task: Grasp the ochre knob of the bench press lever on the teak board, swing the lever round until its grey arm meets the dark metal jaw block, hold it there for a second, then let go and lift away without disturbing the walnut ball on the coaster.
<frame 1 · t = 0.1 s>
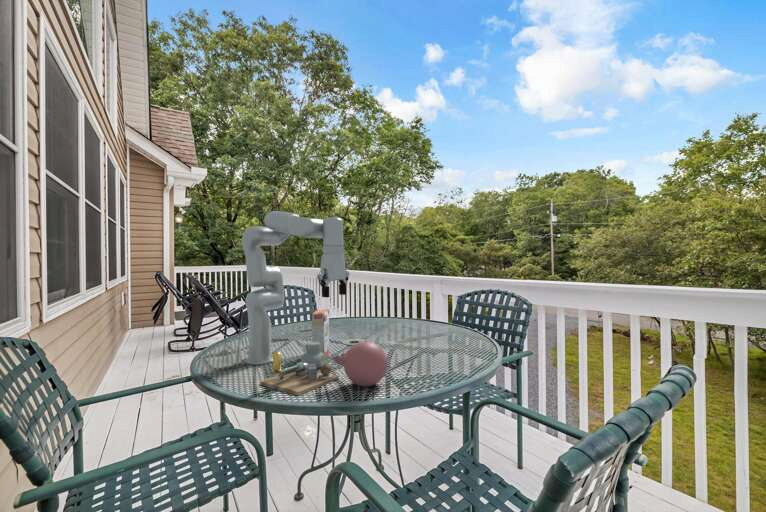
hand: (334, 295, 141), 31 cm above the table, tool pointing down, fingers open, 9 cm apart
balloon: (359, 385, 133), on the table
air freshener: (313, 367, 156), on the table
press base: (299, 381, 137), on the table
lever: (290, 360, 138), point 8 cm above the table, hinge at 0.0°
walnut ball: (326, 375, 139), point 2 cm above the table, touching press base
cracker box: (321, 356, 172), on the table
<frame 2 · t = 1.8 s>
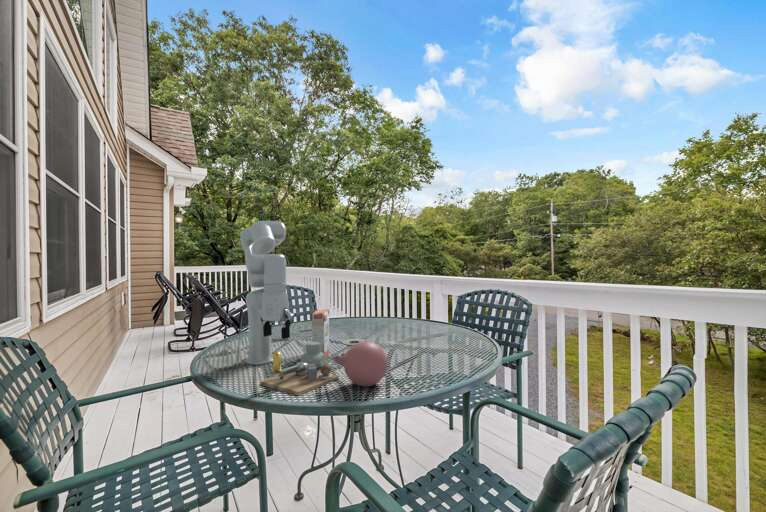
hand: (276, 337, 132), 18 cm above the table, tool pointing down, fingers open, 9 cm apart
nothing on the table moved.
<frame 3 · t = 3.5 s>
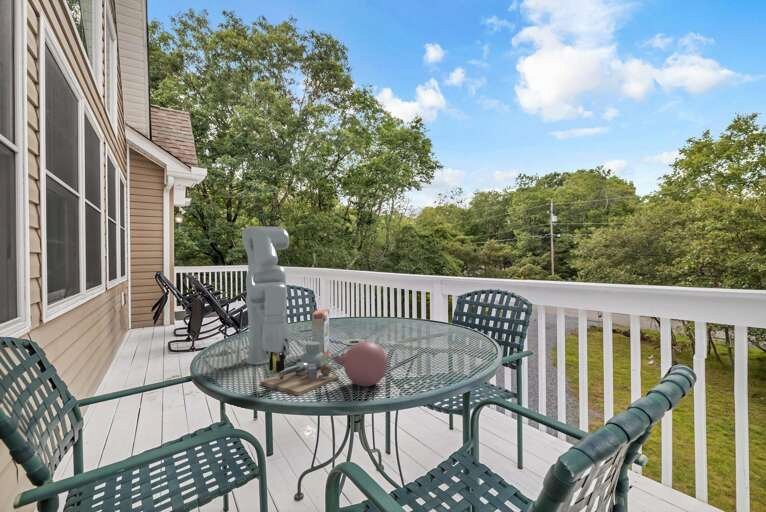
hand: (276, 369, 133), 6 cm above the table, tool pointing down, fingers closed on lever, 2 cm apart
lever: (290, 360, 138), point 8 cm above the table, hinge at 0.0°, touching gripper
everything else where it was.
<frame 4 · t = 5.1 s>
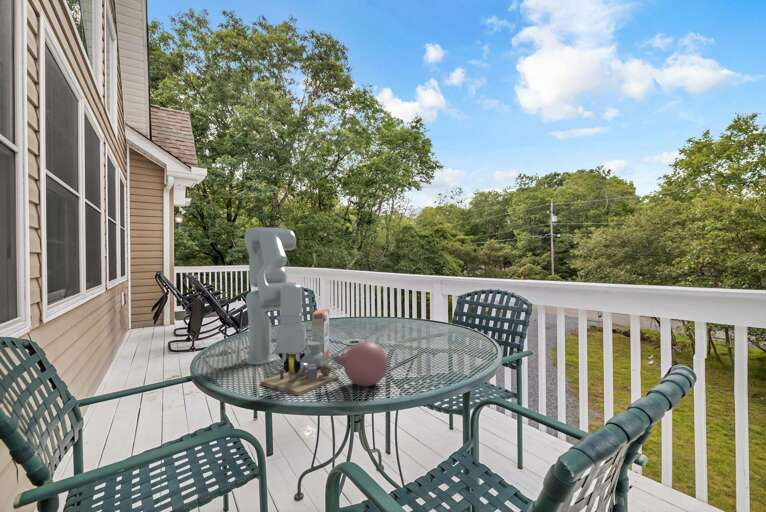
hand: (292, 371, 131), 6 cm above the table, tool pointing down, fingers closed on lever, 2 cm apart
lever: (297, 361, 137), point 8 cm above the table, hinge at 30.6°, touching gripper
everything else where it was.
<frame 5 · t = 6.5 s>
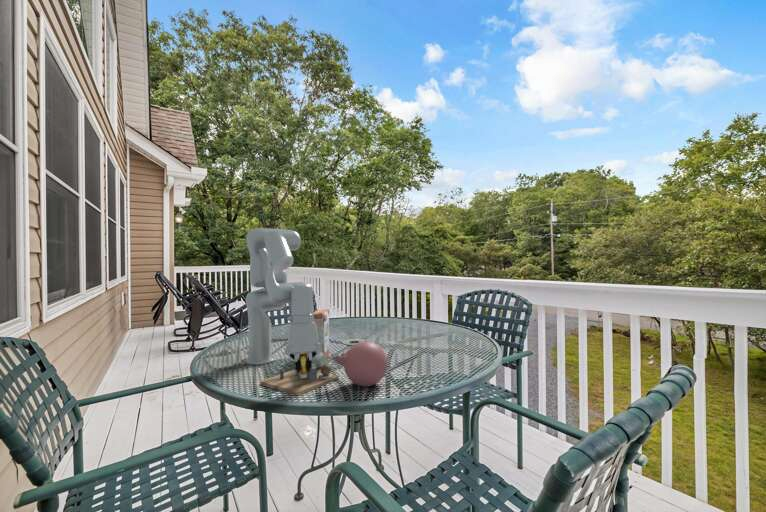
hand: (303, 370, 131), 6 cm above the table, tool pointing down, fingers closed on lever, 2 cm apart
lever: (302, 361, 137), point 8 cm above the table, hinge at 49.1°, touching gripper
everything else where it was.
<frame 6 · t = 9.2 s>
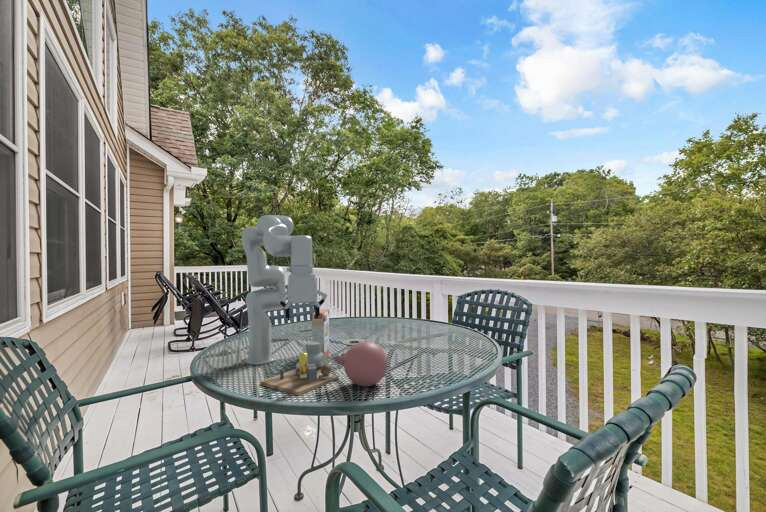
hand: (302, 319, 131), 24 cm above the table, tool pointing down, fingers open, 9 cm apart
lever: (302, 361, 137), point 8 cm above the table, hinge at 49.3°
everything else where it was.
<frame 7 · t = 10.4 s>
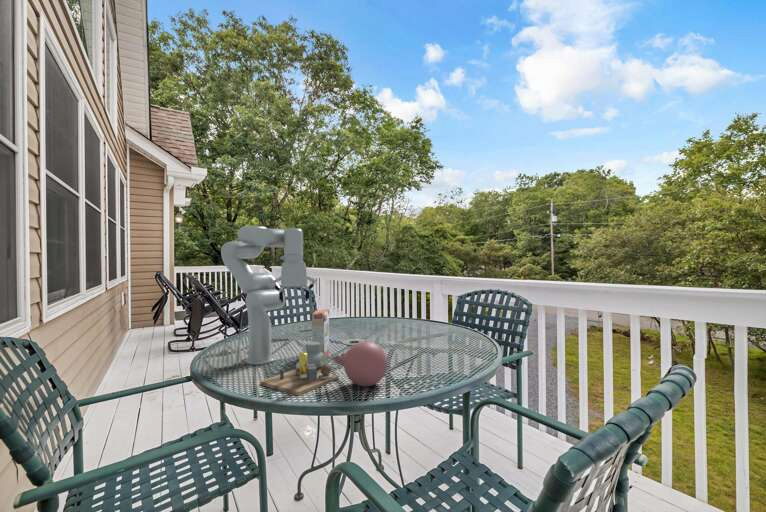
hand: (294, 301, 150), 28 cm above the table, tool pointing down, fingers open, 9 cm apart
nothing on the table moved.
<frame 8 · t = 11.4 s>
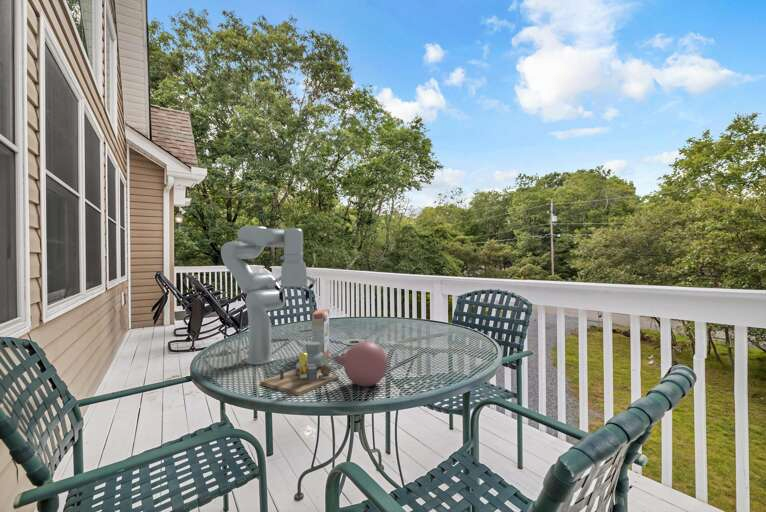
hand: (294, 301, 150), 28 cm above the table, tool pointing down, fingers open, 9 cm apart
nothing on the table moved.
at the end: lever at +49° (first picture: +0°); the gripper is holding nothing; walnut ball moved 0.0 cm from its start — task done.
